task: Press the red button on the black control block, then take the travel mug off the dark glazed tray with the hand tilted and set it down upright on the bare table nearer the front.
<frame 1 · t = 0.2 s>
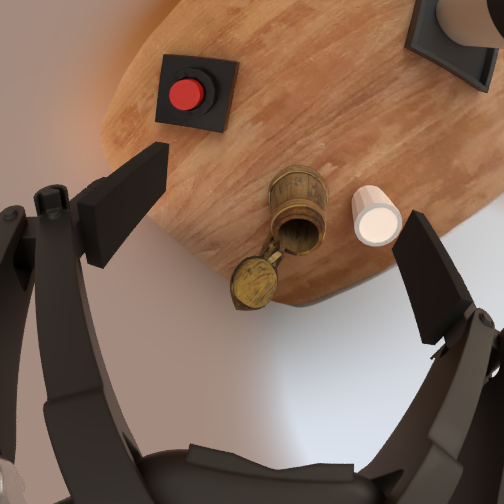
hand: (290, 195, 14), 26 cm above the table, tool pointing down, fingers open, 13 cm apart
white cup: (368, 201, 41), on the table
wooden mug: (287, 201, 44), on the table
travel mug: (457, 20, 21), resting on tray
control block: (197, 90, 35), on the table
tray: (457, 21, 21), on the table
button: (186, 94, 31), point 4 cm above the table, slide at 0.1 cm
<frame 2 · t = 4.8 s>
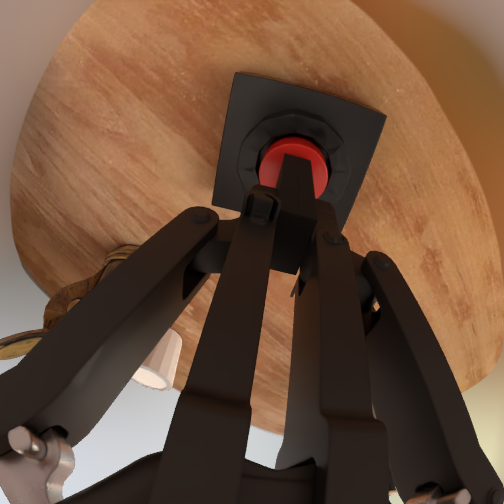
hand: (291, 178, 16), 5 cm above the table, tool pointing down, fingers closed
white cup: (163, 335, 38), on the table
wooden mug: (128, 263, 30), on the table
control block: (294, 150, 20), on the table
button: (293, 171, 17), point 4 cm above the table, slide at -0.1 cm, touching gripper
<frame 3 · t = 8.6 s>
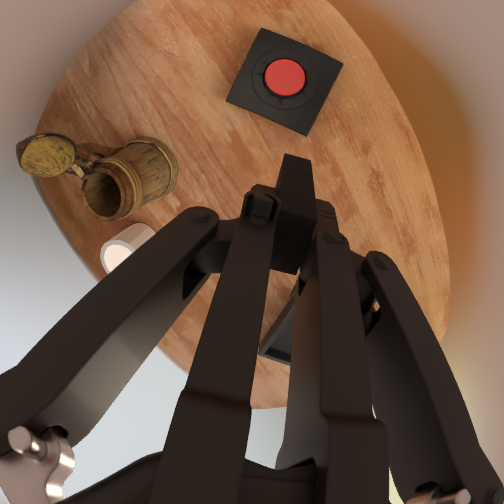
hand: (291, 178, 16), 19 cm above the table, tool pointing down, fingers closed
white cup: (142, 239, 42), on the table
wooden mug: (138, 156, 36), on the table
control block: (284, 81, 29), on the table
tray: (322, 336, 47), on the table
button: (284, 77, 26), point 4 cm above the table, slide at 0.1 cm
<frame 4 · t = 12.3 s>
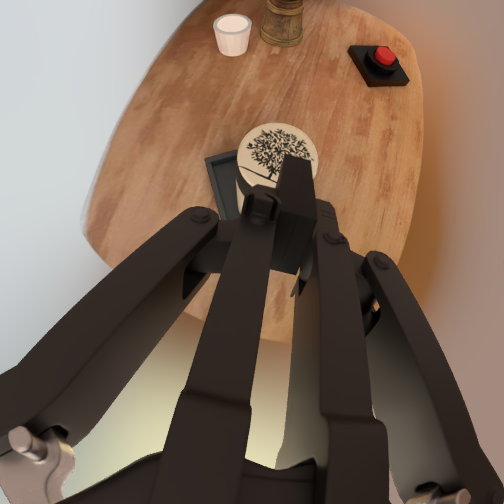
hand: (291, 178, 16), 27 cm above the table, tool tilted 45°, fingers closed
white cup: (233, 47, 46), on the table
wooden mug: (283, 28, 47), on the table
travel mug: (264, 203, 43), resting on tray
control block: (377, 68, 47), on the table
tray: (264, 204, 44), on the table
button: (384, 55, 42), point 4 cm above the table, slide at 0.1 cm
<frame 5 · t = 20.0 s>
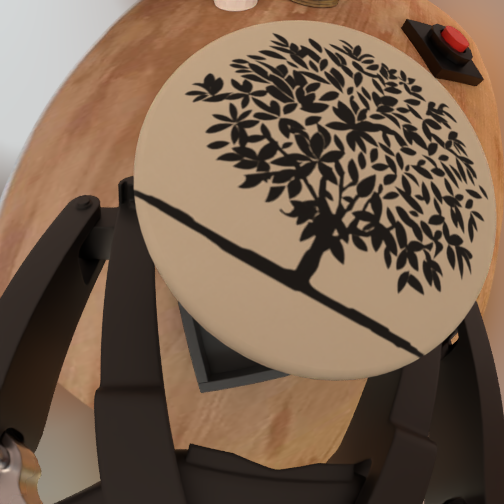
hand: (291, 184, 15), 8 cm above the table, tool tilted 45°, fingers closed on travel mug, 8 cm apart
white cup: (235, 2, 27), on the table
travel mug: (264, 258, 22), resting on tray, touching gripper
control block: (440, 56, 27), on the table
tray: (264, 258, 23), on the table
button: (455, 39, 23), point 4 cm above the table, slide at 0.1 cm
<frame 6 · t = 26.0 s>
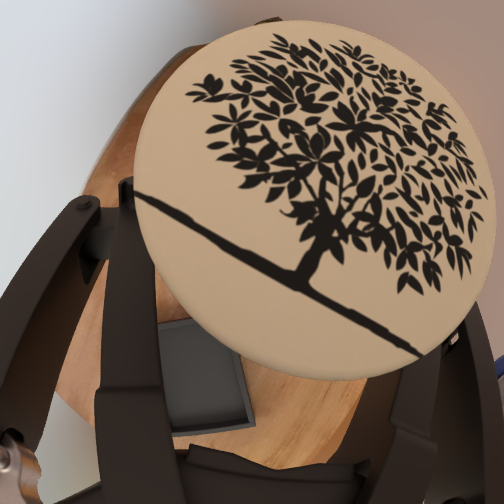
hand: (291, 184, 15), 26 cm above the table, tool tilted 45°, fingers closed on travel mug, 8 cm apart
travel mug: (264, 258, 22), point 19 cm above the table, touching gripper
tray: (196, 376, 39), on the table
when the fingers open (7 cm above the table, at t = 32.0 s): travel mug stays where it is, on the table.
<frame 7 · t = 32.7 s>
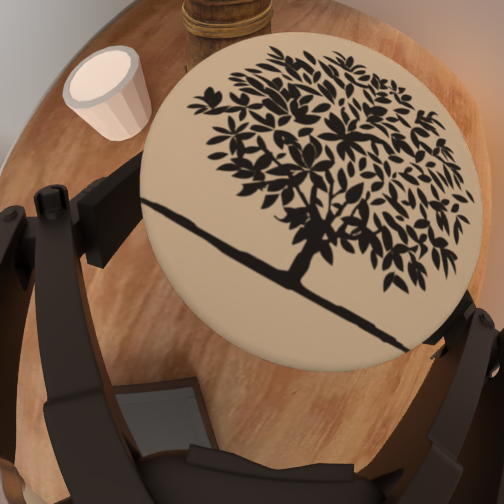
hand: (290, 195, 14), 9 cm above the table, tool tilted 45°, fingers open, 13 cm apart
white cup: (125, 117, 24), on the table
wooden mug: (238, 63, 25), on the table
travel mug: (263, 258, 23), on the table
tray: (153, 466, 20), on the table
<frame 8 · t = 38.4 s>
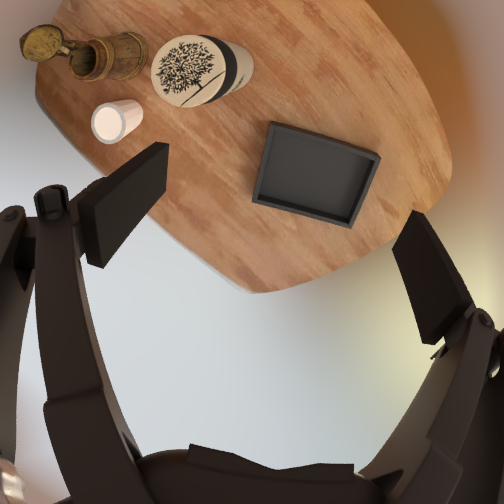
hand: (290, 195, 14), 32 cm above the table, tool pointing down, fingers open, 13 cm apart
white cup: (129, 113, 43), on the table
wooden mug: (117, 49, 35), on the table
travel mug: (227, 67, 37), on the table
tray: (314, 174, 45), on the table
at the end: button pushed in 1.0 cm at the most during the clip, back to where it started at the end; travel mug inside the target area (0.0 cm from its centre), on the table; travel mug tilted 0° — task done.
